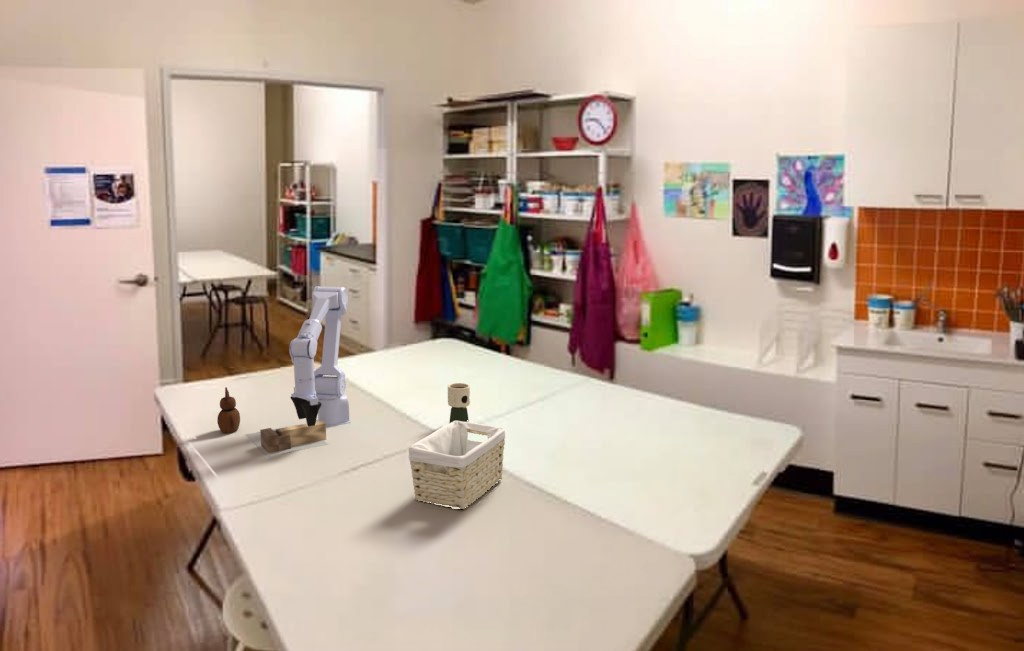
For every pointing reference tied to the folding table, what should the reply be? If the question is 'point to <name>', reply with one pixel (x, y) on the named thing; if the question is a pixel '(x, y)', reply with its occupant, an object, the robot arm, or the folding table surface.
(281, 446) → the bracket
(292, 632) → the folding table surface
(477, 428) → the storage basket
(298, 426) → the rail
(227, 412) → the wooden figurine
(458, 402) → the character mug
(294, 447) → the mat
